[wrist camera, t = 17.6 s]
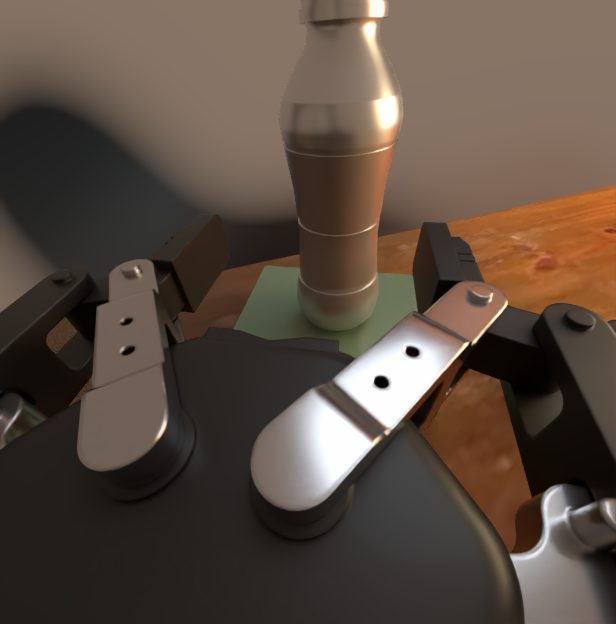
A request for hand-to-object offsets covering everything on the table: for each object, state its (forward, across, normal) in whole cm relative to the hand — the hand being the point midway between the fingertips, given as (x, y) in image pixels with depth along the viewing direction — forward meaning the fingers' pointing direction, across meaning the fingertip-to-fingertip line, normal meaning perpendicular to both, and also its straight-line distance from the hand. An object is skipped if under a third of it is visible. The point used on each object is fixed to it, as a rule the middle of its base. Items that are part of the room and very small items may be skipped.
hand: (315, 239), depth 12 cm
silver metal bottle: (+8, 0, +12) cm, 14 cm away
